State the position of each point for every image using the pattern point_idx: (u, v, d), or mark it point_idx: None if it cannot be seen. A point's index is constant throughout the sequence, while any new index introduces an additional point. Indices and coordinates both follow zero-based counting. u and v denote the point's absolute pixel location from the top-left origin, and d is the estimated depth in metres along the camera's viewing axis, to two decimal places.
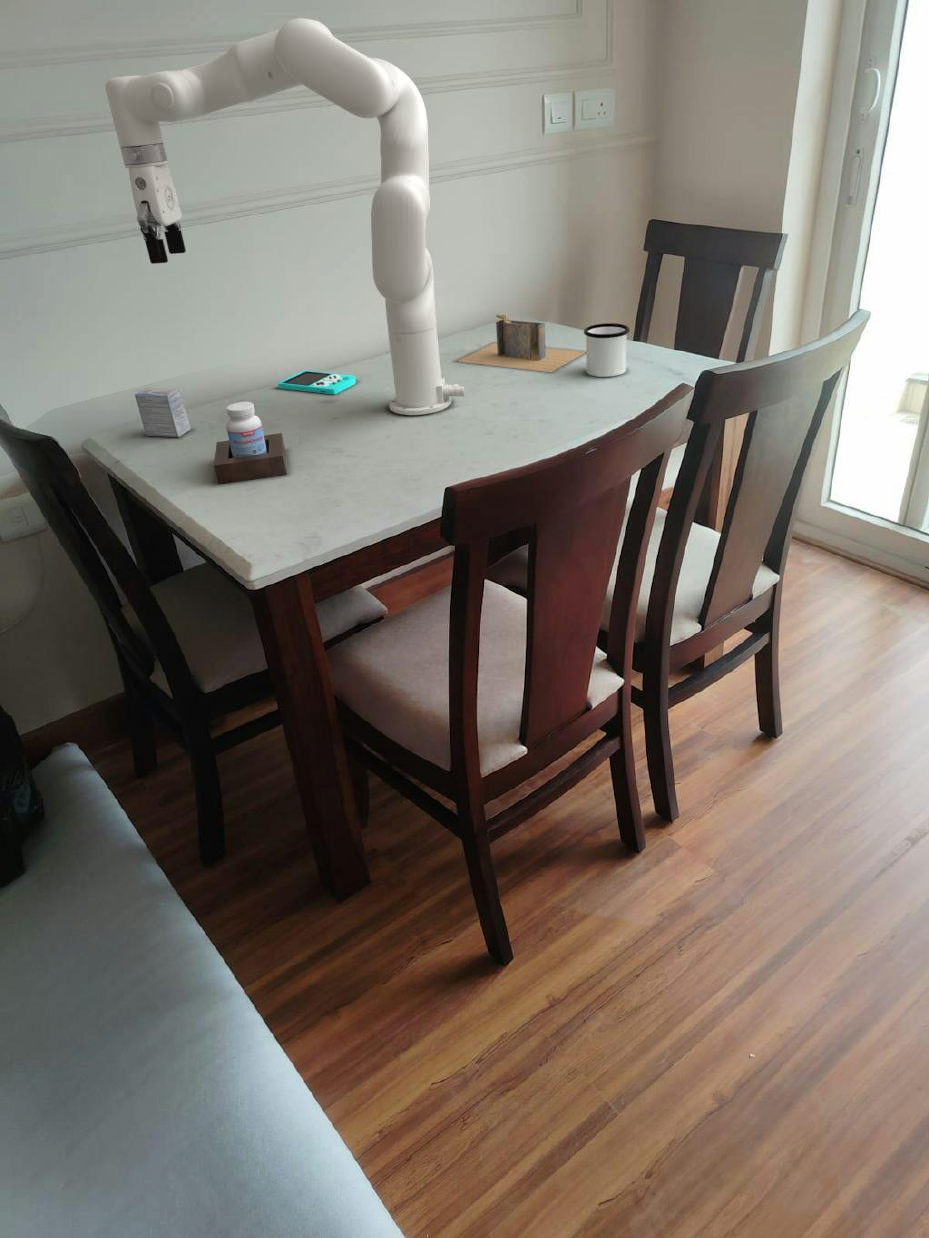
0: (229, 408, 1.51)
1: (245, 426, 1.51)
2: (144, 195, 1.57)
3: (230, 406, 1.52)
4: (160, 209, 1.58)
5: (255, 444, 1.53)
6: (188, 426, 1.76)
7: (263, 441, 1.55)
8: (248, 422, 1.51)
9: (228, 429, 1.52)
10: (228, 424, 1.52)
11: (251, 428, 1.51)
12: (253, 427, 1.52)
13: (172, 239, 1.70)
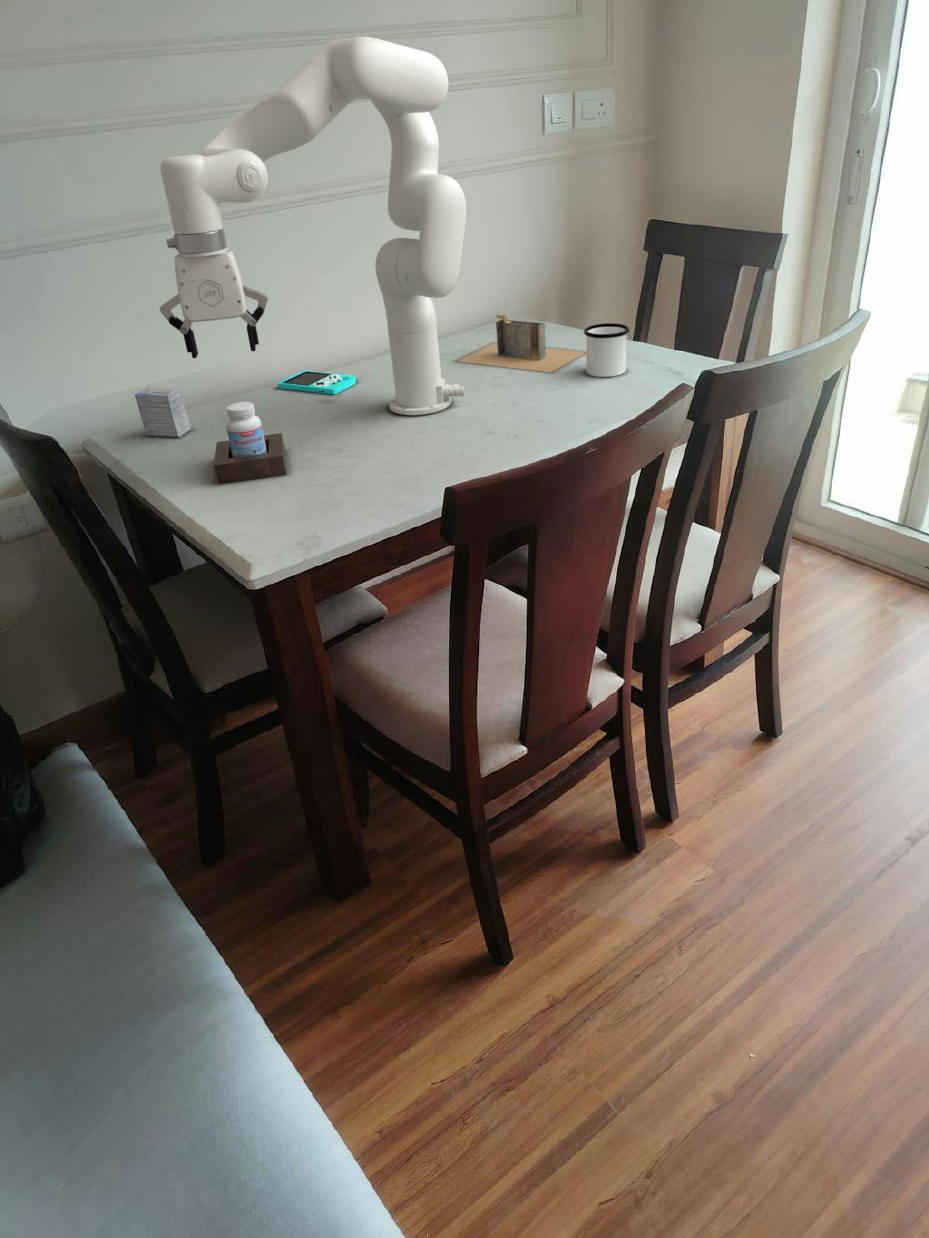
0: (229, 408, 1.51)
1: (245, 426, 1.51)
2: None
3: (230, 406, 1.52)
4: (182, 304, 1.41)
5: (255, 444, 1.53)
6: (188, 426, 1.76)
7: (263, 441, 1.55)
8: (248, 422, 1.51)
9: (228, 429, 1.52)
10: (228, 424, 1.52)
11: (251, 428, 1.51)
12: (253, 427, 1.52)
13: None
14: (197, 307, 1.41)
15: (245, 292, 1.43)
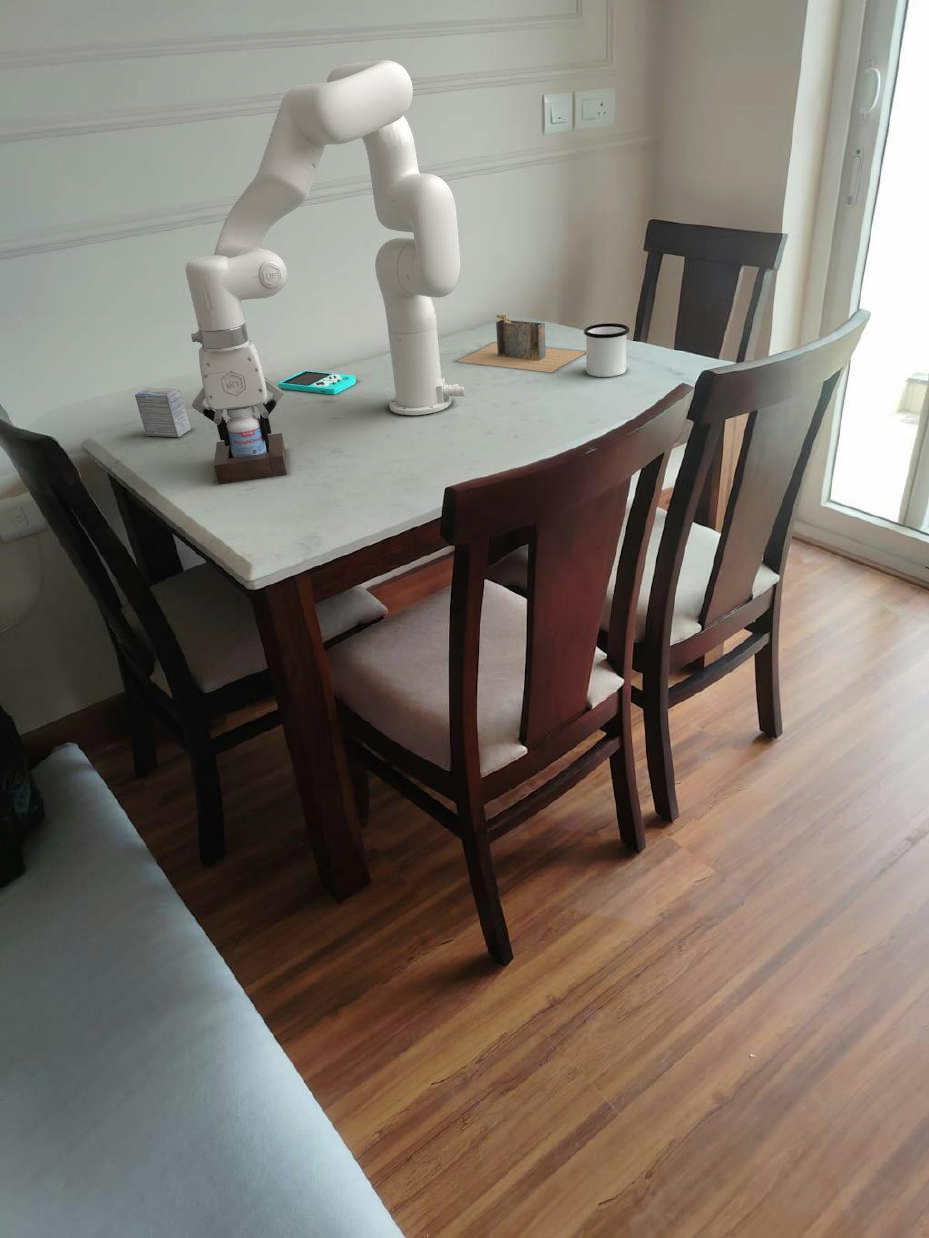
0: None
1: (245, 426, 1.51)
2: None
3: None
4: (206, 394, 1.47)
5: (255, 444, 1.53)
6: (188, 426, 1.76)
7: (263, 441, 1.55)
8: (248, 422, 1.51)
9: (228, 429, 1.52)
10: (227, 424, 1.52)
11: (251, 428, 1.51)
12: (253, 427, 1.52)
13: None
14: (220, 397, 1.48)
15: (266, 380, 1.50)
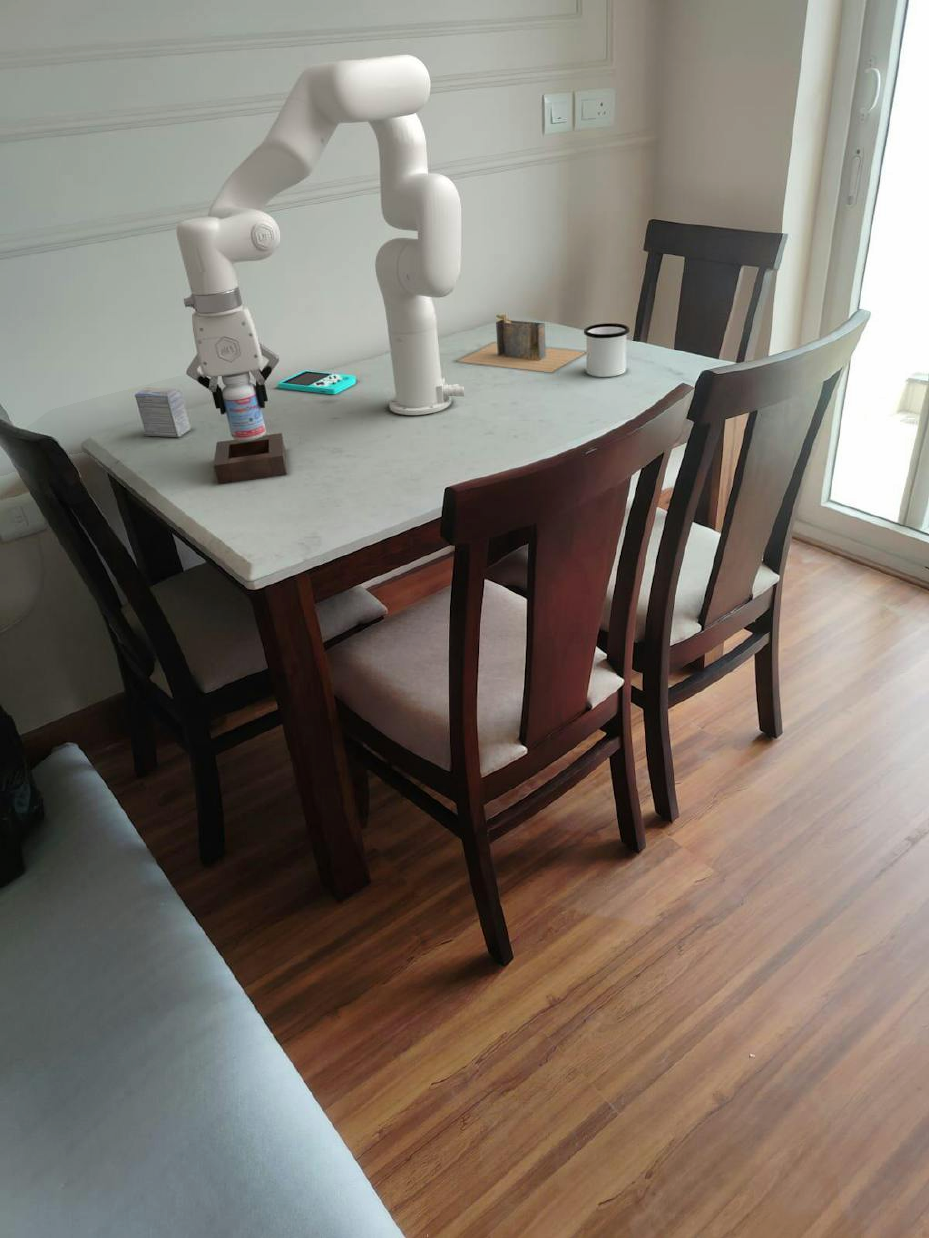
0: None
1: (241, 393, 1.48)
2: None
3: None
4: (200, 360, 1.44)
5: (252, 411, 1.50)
6: (188, 426, 1.76)
7: (259, 409, 1.52)
8: (244, 390, 1.49)
9: (223, 397, 1.49)
10: (223, 391, 1.49)
11: (247, 395, 1.49)
12: (249, 395, 1.49)
13: None
14: (215, 363, 1.45)
15: (261, 346, 1.47)
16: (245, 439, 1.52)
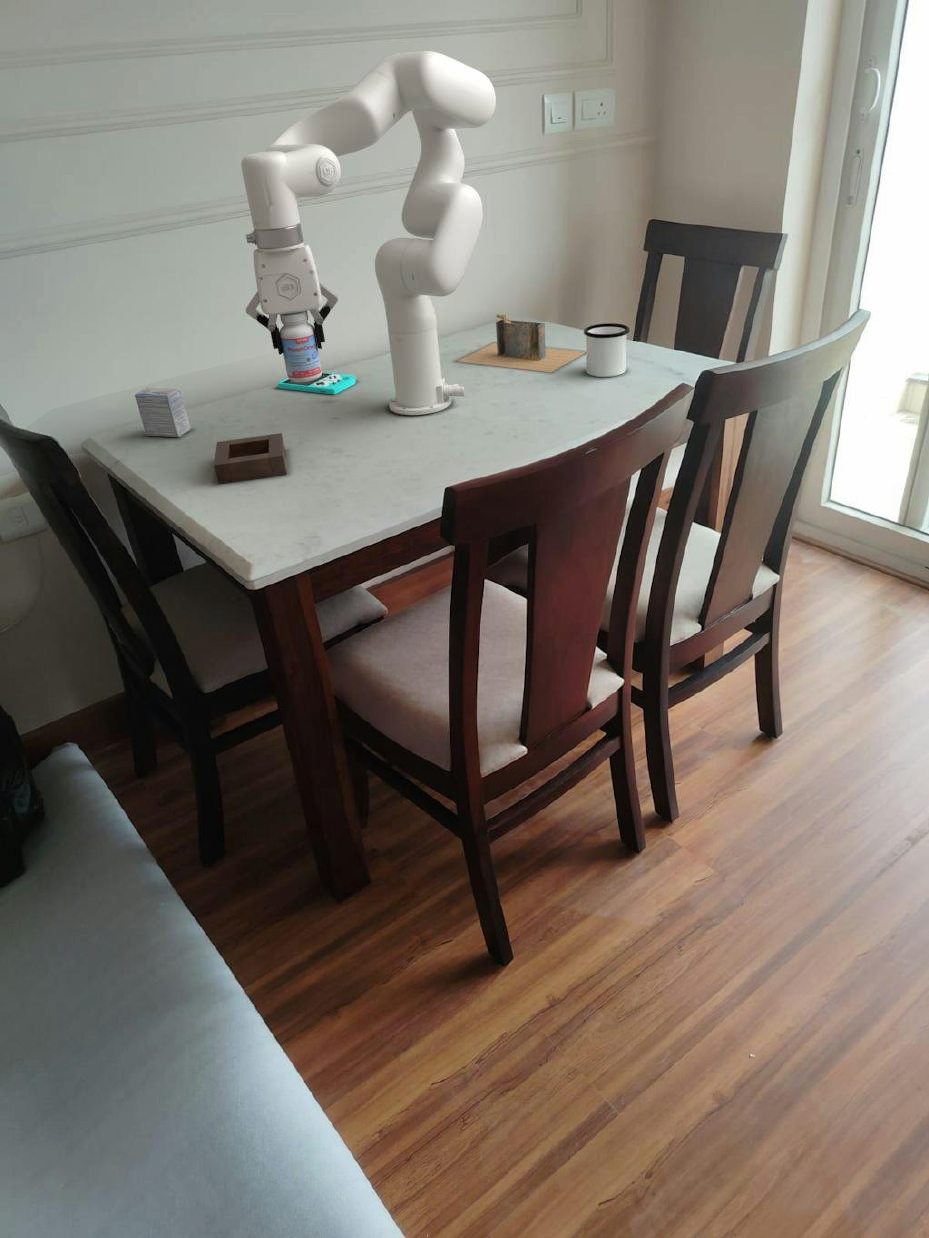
0: (283, 314, 1.48)
1: (300, 332, 1.48)
2: None
3: None
4: (260, 298, 1.45)
5: (309, 351, 1.50)
6: (188, 426, 1.76)
7: (317, 349, 1.52)
8: (302, 329, 1.49)
9: (282, 336, 1.49)
10: (281, 331, 1.49)
11: (306, 334, 1.49)
12: (307, 334, 1.49)
13: None
14: (275, 300, 1.45)
15: (320, 285, 1.47)
16: (302, 380, 1.52)
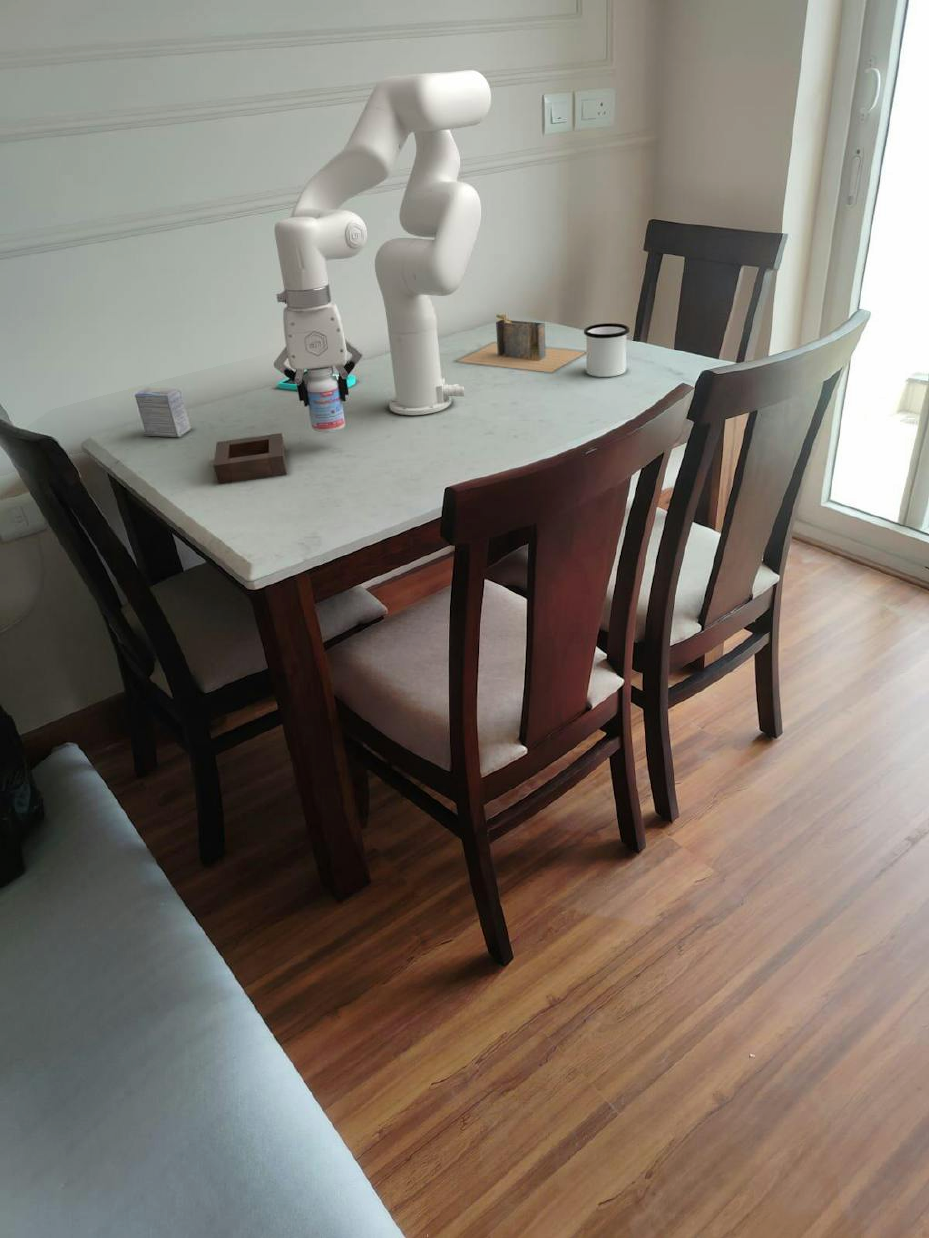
0: None
1: (325, 386, 1.54)
2: None
3: None
4: (289, 353, 1.51)
5: (334, 404, 1.56)
6: (188, 426, 1.76)
7: (341, 402, 1.58)
8: (328, 383, 1.55)
9: (308, 389, 1.55)
10: (307, 384, 1.55)
11: (331, 388, 1.55)
12: (333, 387, 1.55)
13: (339, 385, 1.58)
14: (303, 356, 1.51)
15: (346, 341, 1.53)
16: (326, 430, 1.58)
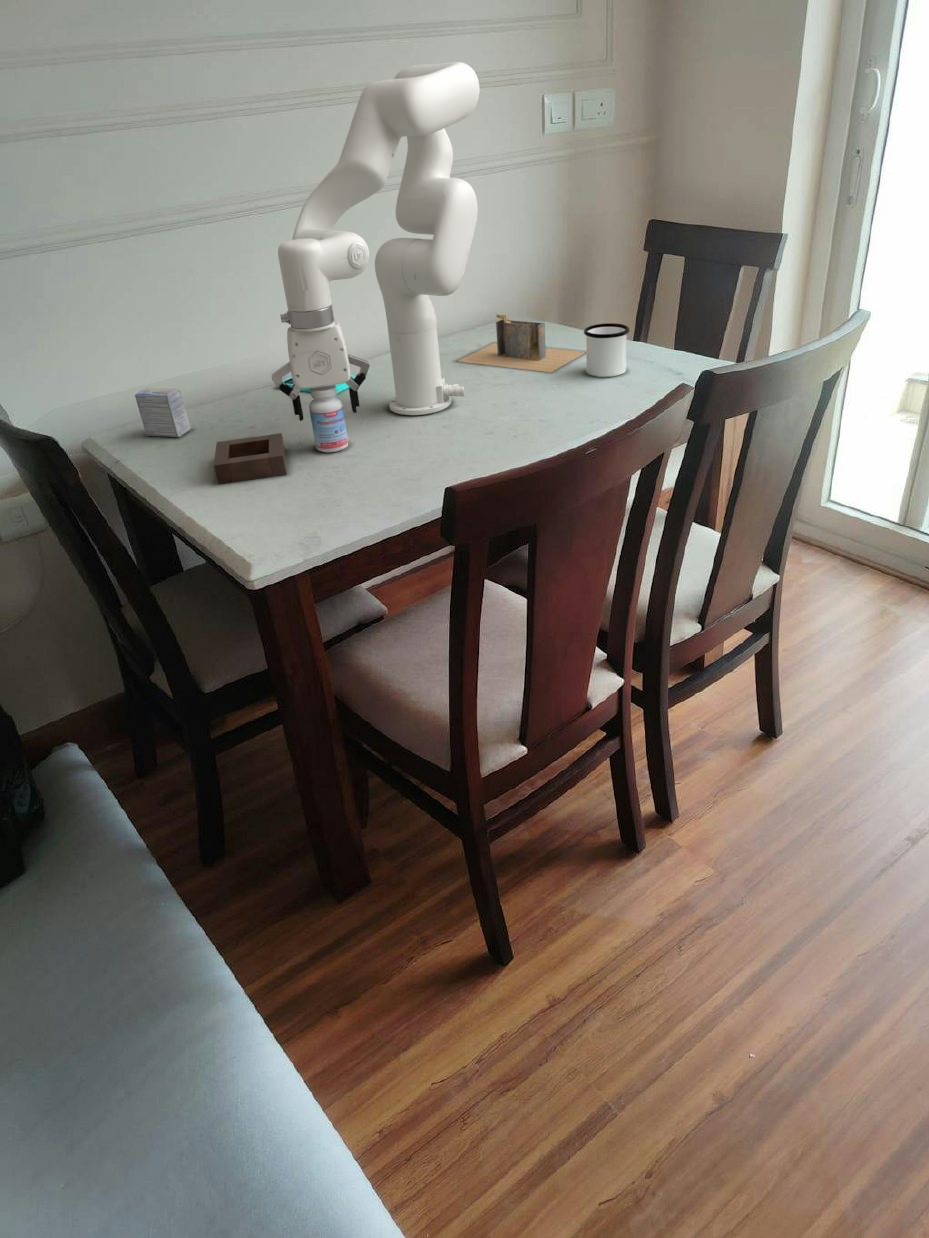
0: (313, 389, 1.56)
1: (329, 407, 1.56)
2: None
3: (313, 388, 1.57)
4: (293, 373, 1.52)
5: (338, 424, 1.58)
6: (188, 426, 1.76)
7: (344, 422, 1.60)
8: (332, 403, 1.57)
9: (312, 410, 1.57)
10: (311, 405, 1.57)
11: (334, 409, 1.57)
12: (336, 408, 1.57)
13: None
14: (307, 376, 1.53)
15: (349, 360, 1.55)
16: (330, 450, 1.60)
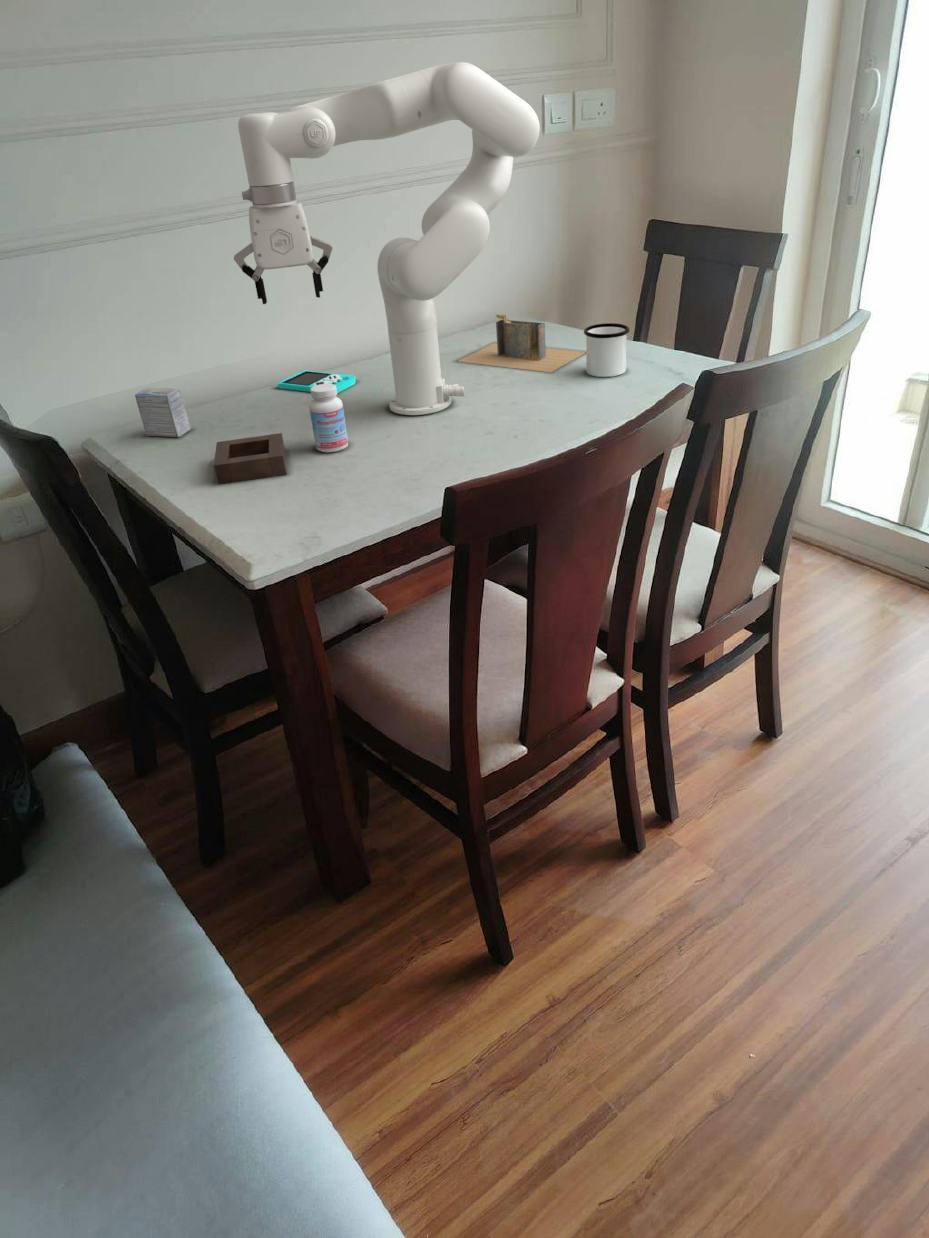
0: (313, 389, 1.56)
1: (329, 407, 1.56)
2: None
3: (314, 388, 1.57)
4: (255, 252, 1.53)
5: (338, 424, 1.58)
6: (188, 426, 1.76)
7: (344, 422, 1.60)
8: (332, 403, 1.57)
9: (312, 410, 1.57)
10: (311, 405, 1.57)
11: (334, 409, 1.57)
12: (336, 408, 1.57)
13: None
14: (269, 255, 1.53)
15: (312, 241, 1.55)
16: (330, 450, 1.60)
